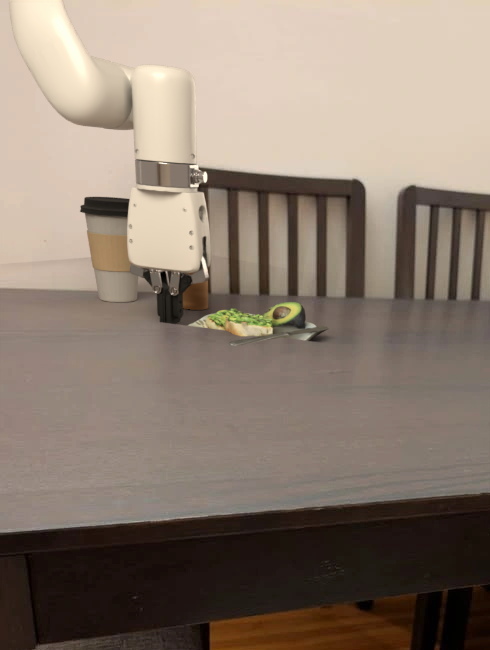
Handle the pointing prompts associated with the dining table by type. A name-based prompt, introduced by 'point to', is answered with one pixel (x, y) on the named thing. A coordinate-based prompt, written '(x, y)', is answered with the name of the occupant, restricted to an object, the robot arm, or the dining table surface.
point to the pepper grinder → (196, 296)
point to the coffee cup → (110, 247)
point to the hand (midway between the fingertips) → (170, 322)
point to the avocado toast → (263, 324)
